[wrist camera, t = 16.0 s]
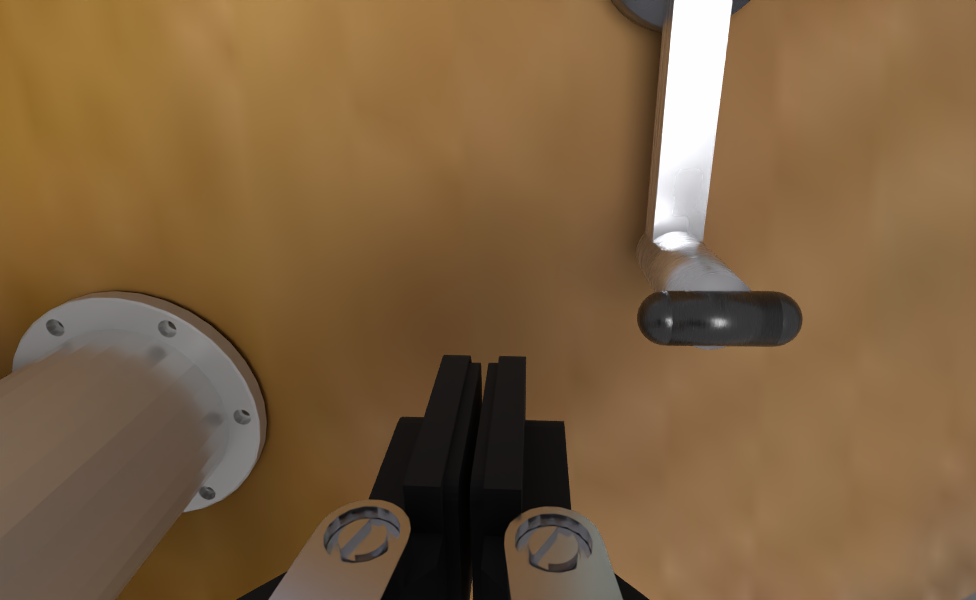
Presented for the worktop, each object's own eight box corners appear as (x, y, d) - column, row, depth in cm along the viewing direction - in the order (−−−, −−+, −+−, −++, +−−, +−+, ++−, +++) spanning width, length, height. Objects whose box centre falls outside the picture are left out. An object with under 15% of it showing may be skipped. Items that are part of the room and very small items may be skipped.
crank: (630, -142, 19) (696, -271, 12) (778, -148, 18) (939, -284, 11) (605, 277, 24) (639, 367, 17) (719, 277, 24) (804, 369, 16)
